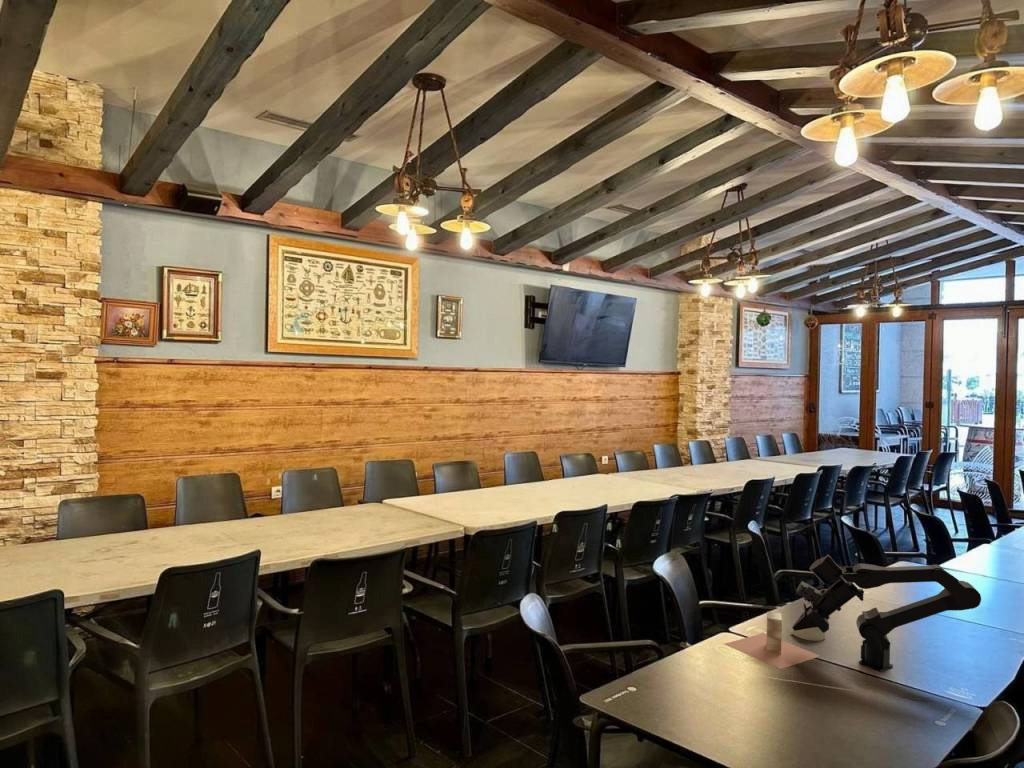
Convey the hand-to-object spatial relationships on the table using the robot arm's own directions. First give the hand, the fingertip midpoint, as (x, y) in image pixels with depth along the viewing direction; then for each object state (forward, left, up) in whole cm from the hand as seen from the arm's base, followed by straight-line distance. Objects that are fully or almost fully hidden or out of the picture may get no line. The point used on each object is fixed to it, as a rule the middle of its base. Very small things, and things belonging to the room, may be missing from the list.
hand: (793, 629), depth 201 cm
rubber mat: (+4, +4, -7) cm, 9 cm away
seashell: (+6, -16, -7) cm, 18 cm away
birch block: (+4, +3, -7) cm, 9 cm away
